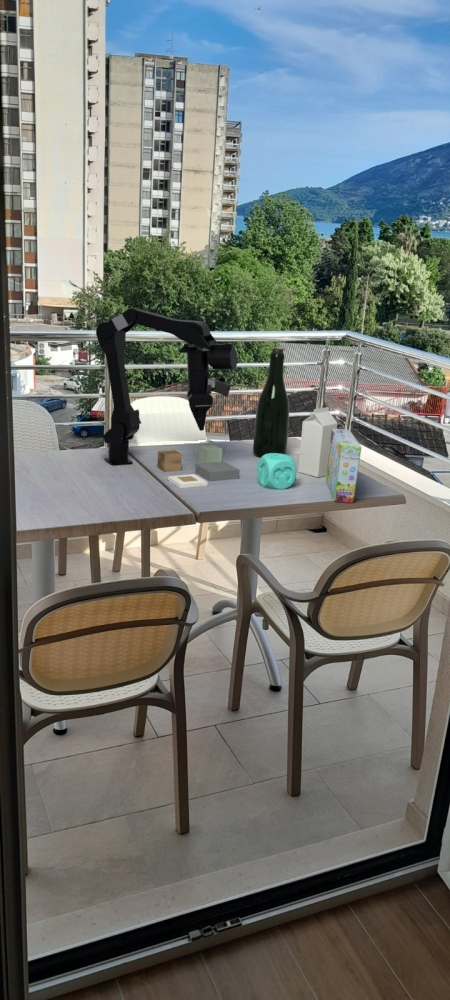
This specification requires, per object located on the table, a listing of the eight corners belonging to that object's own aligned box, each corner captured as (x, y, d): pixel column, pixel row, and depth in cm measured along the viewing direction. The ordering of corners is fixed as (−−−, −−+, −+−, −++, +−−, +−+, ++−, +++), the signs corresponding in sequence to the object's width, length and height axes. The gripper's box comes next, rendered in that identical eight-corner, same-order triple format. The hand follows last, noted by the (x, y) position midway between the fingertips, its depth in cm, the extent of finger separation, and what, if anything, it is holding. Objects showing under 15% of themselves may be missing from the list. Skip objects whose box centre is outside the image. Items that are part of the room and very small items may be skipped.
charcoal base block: (195, 474, 210) (195, 463, 209) (223, 471, 214) (224, 461, 213) (209, 482, 202) (210, 472, 201) (238, 480, 207) (239, 469, 206)
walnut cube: (157, 467, 213) (158, 450, 211) (173, 466, 215) (174, 449, 213) (164, 472, 208) (165, 455, 207) (180, 471, 211) (181, 453, 209)
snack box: (355, 504, 191) (362, 446, 186) (333, 502, 191) (340, 444, 186) (344, 481, 211) (350, 428, 206) (324, 479, 211) (329, 427, 206)
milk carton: (332, 474, 217) (339, 409, 211) (317, 478, 212) (324, 411, 206) (312, 468, 221) (318, 405, 216) (297, 472, 216) (303, 407, 211)
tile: (167, 479, 201) (167, 475, 201) (194, 477, 205) (194, 473, 204) (180, 488, 194) (180, 484, 194) (207, 485, 198) (207, 481, 198)
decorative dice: (255, 482, 204) (257, 453, 202) (282, 480, 207) (284, 452, 205) (268, 490, 197) (270, 461, 195) (295, 488, 200) (297, 459, 198)
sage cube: (198, 462, 221) (199, 446, 219) (213, 461, 223) (214, 445, 222) (206, 467, 217) (207, 450, 215) (221, 465, 219) (222, 449, 217)
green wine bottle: (264, 449, 241) (272, 345, 231) (292, 455, 235) (301, 349, 225) (246, 455, 233) (253, 347, 223) (274, 461, 227) (283, 351, 217)
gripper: (231, 371, 192) (233, 432, 196) (225, 365, 210) (227, 420, 214) (187, 373, 191) (190, 434, 195) (185, 366, 209) (188, 422, 213)
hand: (200, 427), depth 204 cm, fingers open, 9 cm apart
